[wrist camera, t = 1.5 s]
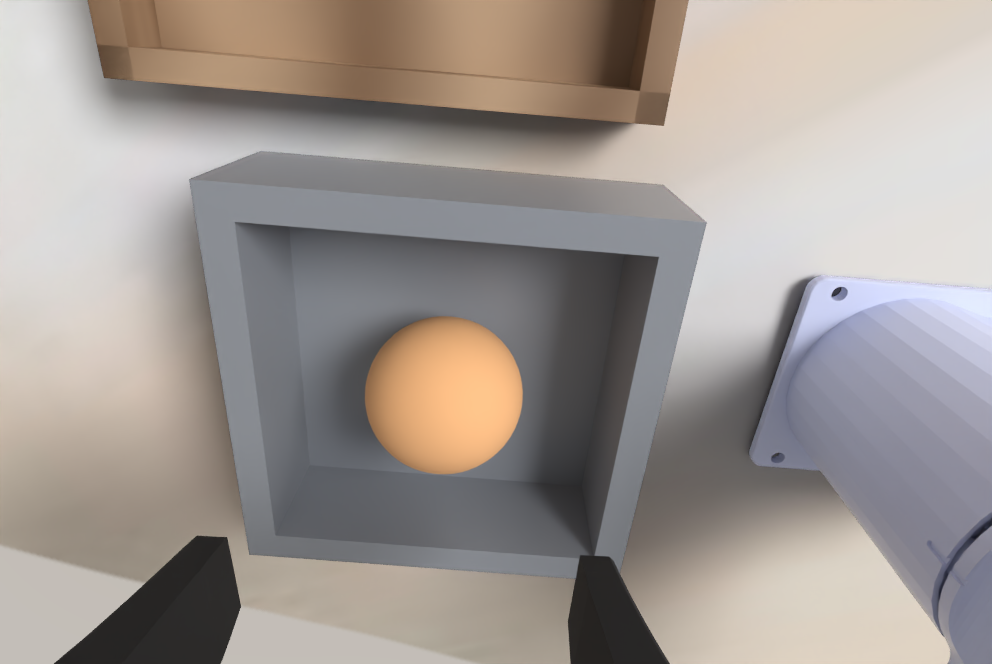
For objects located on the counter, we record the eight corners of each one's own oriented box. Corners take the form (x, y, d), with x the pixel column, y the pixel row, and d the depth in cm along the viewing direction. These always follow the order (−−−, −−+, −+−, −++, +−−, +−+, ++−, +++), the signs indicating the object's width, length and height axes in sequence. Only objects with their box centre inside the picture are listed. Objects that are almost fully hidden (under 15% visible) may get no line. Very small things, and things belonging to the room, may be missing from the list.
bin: (663, 184, 18) (706, 222, 14) (599, 493, 24) (617, 581, 20) (261, 151, 18) (188, 179, 14) (293, 469, 24) (249, 554, 20)
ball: (528, 298, 19) (533, 372, 15) (514, 419, 21) (515, 515, 17) (381, 286, 19) (342, 357, 15) (383, 408, 21) (349, 503, 17)
